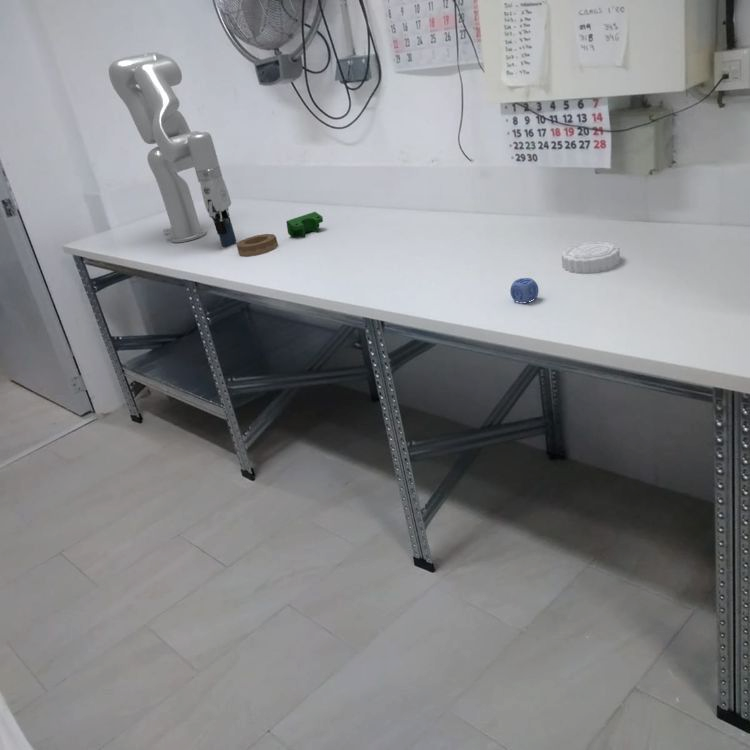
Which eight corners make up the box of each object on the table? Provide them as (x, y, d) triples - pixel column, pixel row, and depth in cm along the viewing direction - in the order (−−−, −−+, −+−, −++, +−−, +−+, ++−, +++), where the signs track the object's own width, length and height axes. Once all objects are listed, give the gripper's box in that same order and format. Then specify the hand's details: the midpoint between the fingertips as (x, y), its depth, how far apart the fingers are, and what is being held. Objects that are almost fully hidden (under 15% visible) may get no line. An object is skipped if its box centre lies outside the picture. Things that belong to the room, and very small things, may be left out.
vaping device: (220, 246, 238) (209, 209, 233) (236, 241, 239) (226, 205, 234) (221, 247, 236) (211, 211, 231) (237, 243, 237) (227, 206, 232)
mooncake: (630, 265, 154) (630, 248, 153) (577, 278, 153) (576, 262, 152) (603, 251, 165) (602, 236, 164) (553, 264, 164) (552, 248, 162)
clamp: (303, 250, 230) (291, 230, 224) (294, 243, 234) (282, 224, 228) (329, 227, 232) (318, 207, 226) (320, 221, 236) (309, 201, 230)
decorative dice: (524, 295, 150) (522, 276, 148) (539, 298, 147) (537, 279, 145) (511, 301, 148) (508, 283, 147) (526, 305, 145) (524, 286, 143)
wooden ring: (233, 258, 221) (231, 248, 219) (246, 246, 231) (244, 237, 230) (270, 253, 218) (268, 243, 217) (282, 241, 228) (279, 232, 227)
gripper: (210, 178, 220) (226, 237, 227) (229, 166, 234) (244, 223, 242) (187, 182, 221) (204, 241, 229) (208, 170, 236) (223, 226, 244)
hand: (225, 231), depth 236 cm, fingers closed on vaping device, 4 cm apart
